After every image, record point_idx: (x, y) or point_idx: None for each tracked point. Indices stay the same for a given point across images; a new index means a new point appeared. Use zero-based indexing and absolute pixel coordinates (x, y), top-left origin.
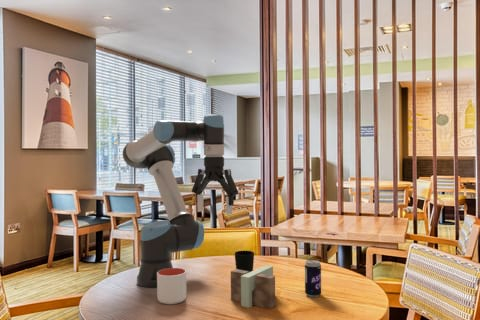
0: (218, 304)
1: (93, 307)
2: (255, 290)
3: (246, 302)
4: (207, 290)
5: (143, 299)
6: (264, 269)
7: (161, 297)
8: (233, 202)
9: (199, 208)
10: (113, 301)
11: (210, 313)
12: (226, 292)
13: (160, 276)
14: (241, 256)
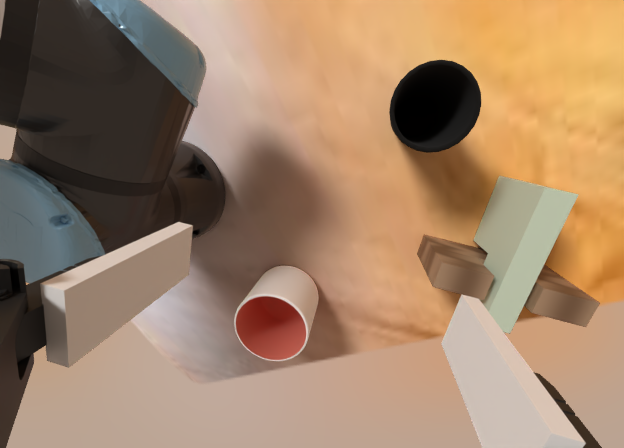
0: (398, 288)
1: (180, 355)
2: None
3: None
4: (333, 210)
5: (232, 301)
6: (549, 242)
7: (279, 326)
8: (562, 403)
9: (173, 279)
10: (189, 324)
11: (401, 335)
12: (387, 209)
13: (262, 356)
14: (432, 151)
